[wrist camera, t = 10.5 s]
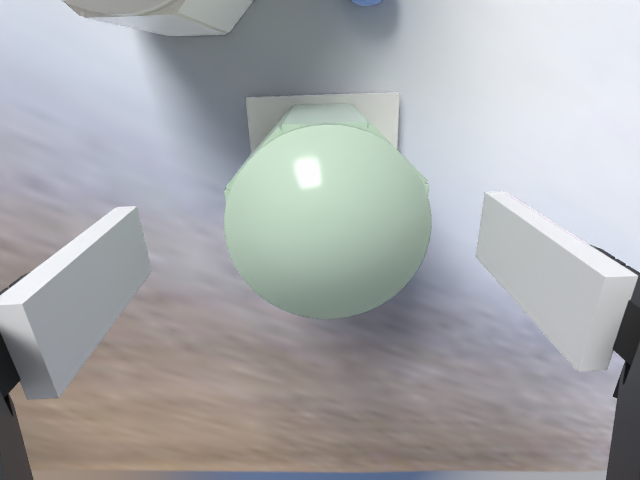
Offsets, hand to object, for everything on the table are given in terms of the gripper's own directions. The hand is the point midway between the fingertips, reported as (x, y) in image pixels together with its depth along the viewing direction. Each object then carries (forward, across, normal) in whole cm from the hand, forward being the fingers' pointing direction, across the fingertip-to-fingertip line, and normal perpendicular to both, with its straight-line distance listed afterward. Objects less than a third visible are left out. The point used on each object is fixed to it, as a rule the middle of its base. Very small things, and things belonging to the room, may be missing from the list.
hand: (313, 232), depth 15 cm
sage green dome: (+10, +1, 0) cm, 11 cm away
